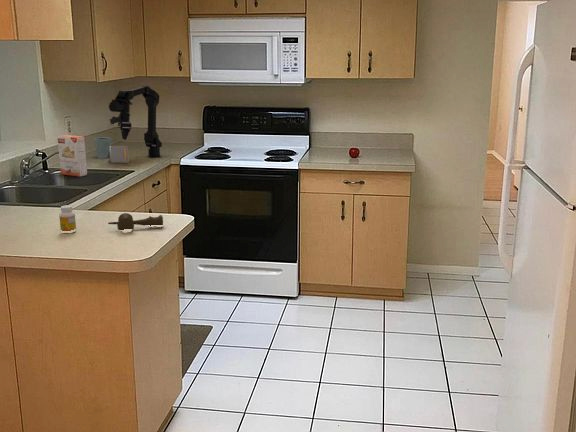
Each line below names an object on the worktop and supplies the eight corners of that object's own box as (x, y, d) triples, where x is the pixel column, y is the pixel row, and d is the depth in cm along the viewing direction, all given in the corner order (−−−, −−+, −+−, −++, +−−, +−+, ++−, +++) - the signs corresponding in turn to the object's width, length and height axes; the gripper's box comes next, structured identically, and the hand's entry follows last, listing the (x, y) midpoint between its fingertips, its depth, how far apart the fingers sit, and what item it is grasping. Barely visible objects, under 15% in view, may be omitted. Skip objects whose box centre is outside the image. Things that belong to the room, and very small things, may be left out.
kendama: (163, 232, 234) (107, 234, 229) (162, 226, 243) (108, 228, 238) (163, 216, 232) (107, 218, 228) (162, 211, 241) (107, 212, 237)
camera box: (107, 162, 374) (106, 149, 372) (110, 160, 381) (109, 148, 379) (121, 162, 374) (120, 149, 372) (124, 160, 381) (123, 148, 379)
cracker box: (60, 174, 338) (56, 135, 333) (68, 172, 343) (65, 134, 338) (79, 177, 332) (76, 137, 326) (87, 175, 337) (84, 136, 331)
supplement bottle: (57, 232, 231) (55, 206, 228) (70, 229, 235) (68, 204, 233) (66, 235, 228) (64, 209, 225) (79, 231, 232) (77, 206, 229)
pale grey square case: (110, 162, 372) (109, 146, 370) (110, 162, 374) (109, 146, 371) (128, 162, 372) (127, 146, 370) (128, 162, 374) (127, 146, 371)
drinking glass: (99, 159, 386) (97, 139, 383) (92, 157, 393) (91, 138, 390) (115, 157, 392) (113, 138, 389) (108, 155, 400) (106, 136, 397)
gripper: (109, 111, 372) (108, 138, 375) (111, 111, 355) (111, 139, 357) (128, 112, 376) (128, 138, 378) (131, 112, 359) (131, 140, 361)
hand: (124, 139), depth 369 cm, fingers open, 9 cm apart
